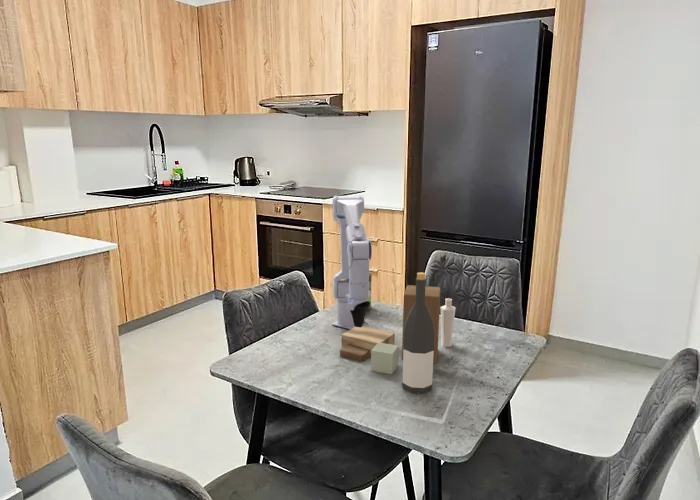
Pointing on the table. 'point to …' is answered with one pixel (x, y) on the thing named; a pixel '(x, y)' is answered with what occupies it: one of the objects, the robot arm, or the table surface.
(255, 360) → the table surface
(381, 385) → the table surface
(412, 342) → the wine bottle
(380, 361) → the sage cube
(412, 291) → the wooden block
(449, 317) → the perfume bottle
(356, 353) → the walnut block
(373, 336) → the oak step
